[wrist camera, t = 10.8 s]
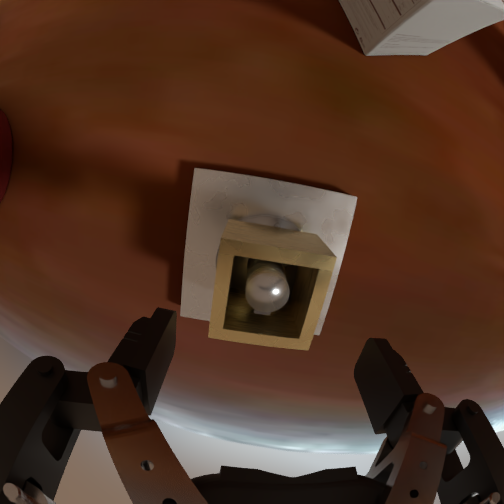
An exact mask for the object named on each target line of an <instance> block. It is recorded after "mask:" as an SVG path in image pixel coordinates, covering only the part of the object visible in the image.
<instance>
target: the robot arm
mask: <svg viewBox="0 0 504 504" xmlns="http://www.w3.org/2000/svg"><path fill="white" fill-rule="evenodd" d="M176 317H177V315H176V311H173V310H168V309H163V308H159V307H158V308H157V309H156V310H155V312H154V314H153V315H152V317H151V318H147V317H142V318H140V319H138V320H137V321H135V322H134V323H133V324H132V326H131V327H130V328H129V330H128V332H127V333H126V334H125V336H124V339H122V340H121V342H120V343H119V345H118V346H117V348H116V350H115V351H114V353H113V354H112V356H111V357H110V359H109V360H108V362H104V363H99V364H97V365H95V366H93V367H92V368H91V369H90V370H89V372H78V371H68V370H65V368H64V365H63V363H62V362H61V361H60V360H59V359H57V358H55V357H52V356H41V357H38V358H36V359H34V360H33V361H32V362H31V363H30V364H29V365H28V366H27V368H26V369H25V370H24V372H23V373H22V374H21V376H20V377H19V378H18V380H17V381H16V383H15V384H14V385H13V387H12V388H11V389H10V391H9V392H8V394H7V395H6V397H5V398H4V399H3V401H2V402H1V404H0V504H56V503H55V502H54V501H53V500H54V497H55V495H56V492H57V489H58V486H59V483H60V480H61V478H62V475H63V473H64V470H65V467H66V465H67V462H68V459H69V457H70V455H71V452H72V450H73V447H74V445H75V443H76V440H77V438H78V436H79V433H80V431H81V430H91V431H101V432H102V434H103V437H104V439H105V442H106V445H107V448H108V450H109V453H110V455H111V458H112V460H113V463H114V465H115V467H116V469H117V471H118V474H119V476H120V478H121V481H122V483H123V485H124V487H125V489H126V491H127V493H128V495H129V497H130V499H131V501H132V503H133V504H433V503H434V500H435V497H436V493H437V492H438V496H439V499H440V502H441V504H504V448H503V446H502V444H501V442H500V440H499V438H498V437H497V435H496V433H495V431H494V429H493V428H492V426H491V424H490V422H489V421H488V419H487V417H486V416H485V414H484V412H483V410H482V409H481V407H480V406H479V405H478V404H477V403H476V402H474V401H472V400H469V399H465V400H462V401H461V402H460V403H459V405H458V406H457V407H456V408H448V407H444V404H443V403H442V401H441V400H440V399H439V398H438V397H436V396H435V395H432V394H429V393H424V392H423V391H422V389H421V387H420V386H419V384H418V382H417V381H416V379H415V377H414V376H413V374H412V373H411V371H410V369H409V367H407V364H406V363H405V361H404V359H403V358H402V357H401V356H400V355H399V354H398V353H397V352H396V351H395V350H393V349H392V347H391V346H390V344H389V342H388V341H387V340H386V339H381V338H369V339H368V340H367V342H366V344H365V346H364V348H363V350H362V352H361V355H360V357H359V359H358V361H357V363H356V365H355V369H354V378H355V381H356V383H357V386H358V389H359V391H360V394H361V397H362V399H363V402H364V405H365V407H366V410H367V413H368V416H369V418H370V421H371V424H372V427H373V430H374V432H375V434H382V433H386V434H387V437H386V438H385V439H384V441H383V443H382V445H381V447H380V449H379V452H378V454H377V456H376V458H375V460H374V462H373V464H372V466H371V468H370V470H369V472H368V473H367V475H366V476H361V475H357V471H356V467H349V468H337V469H325V470H322V471H318V472H315V473H311V474H307V475H304V476H299V477H286V476H282V475H278V474H274V473H269V472H266V471H262V470H258V469H248V468H237V467H229V466H221V469H220V473H218V474H209V475H203V476H199V477H196V478H193V479H190V478H189V476H188V475H187V473H186V472H185V470H184V469H183V467H182V466H181V464H180V462H179V461H178V459H177V458H176V456H175V454H174V453H173V451H172V449H171V448H170V446H169V444H168V443H167V441H166V439H165V438H164V436H163V434H162V432H161V430H160V429H159V427H158V425H157V423H156V422H155V421H154V420H153V419H152V420H151V419H150V418H149V416H148V415H150V416H151V413H152V410H153V408H154V405H155V402H156V400H157V397H158V394H159V391H160V389H161V386H162V383H163V381H164V378H165V376H166V373H167V370H168V368H169V365H170V363H171V360H172V357H173V354H174V350H175V343H176ZM462 441H464V443H465V445H466V447H467V450H468V452H469V454H470V462H469V465H468V466H467V467H466V468H465V469H463V467H462V464H461V462H460V459H459V457H458V455H457V453H456V450H455V448H456V447H457V446H458V445H459V444H460V443H461V442H462Z"/></svg>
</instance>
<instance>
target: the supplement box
mask: <svg viewBox="0 0 504 504" xmlns="http://www.w3.org/2000/svg"><path fill="white" fill-rule="evenodd" d="M339 2H340V4H341V6H342V8H343V10H344V12H345V14H346V16H347V18H348V20H349V22H350V24H351V26H352V28H353V30H354V32H355V34H356V37H357V39H358V41H359V43H360V46H361V48H362V50H363V52H364V54H365V55H366V56H370V55H428V54H430V53H432V52H434V51H436V50H438V49H440V48H442V47H443V46H445V45H447V44H449V43H452V42H454V41H456V40H458V39H460V38H462V37H464V36H466V35H468V34H471V33H473V32H475V31H477V30H480V29H482V28H484V27H487V26H489V25H491V24H494V23H496V22H499V21H501V20H504V0H339Z"/></svg>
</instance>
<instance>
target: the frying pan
mask: <svg viewBox="0 0 504 504" xmlns="http://www.w3.org/2000/svg"><path fill="white" fill-rule="evenodd" d="M12 149H13V146H12V134H11V128H10V125H9V122H8V119H7V117H6V116H5V114H4V113H3V112H2V111H1V110H0V203H1V201H2V199H3V197H4V195H5V192H6V189H7V186H8V182H9V178H10V173H11V165H12Z"/></svg>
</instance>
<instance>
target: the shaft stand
mask: <svg viewBox="0 0 504 504" xmlns="http://www.w3.org/2000/svg"><path fill="white" fill-rule="evenodd" d="M356 201H357V197H355V196H352V195H349V194H345V193H340V192H336V191H332V190H327V189H322V188H318V187H313V186H308V185H303V184H298V183H293V182H288V181H282V180H277V179H271V178H265V177H259V176H253V175H247V174H241V173H234V172H227V171H220V170H213V169H205V168H195V169H194V176H193V183H192V191H191V199H190V207H189V216H188V225H187V234H186V245H185V256H184V268H183V281H182V296H181V314H180V316H184V317H189V318H195V319H200V320H206V321H210V317H211V309H212V300H213V292H214V284H215V277H216V269H217V262H218V254H219V247H220V240H221V236H222V234H223V232H224V229H225V227H226V225H227V222H228V220H229V219H232V220H238V221H244V222H250V223H256V224H262V225H268V226H274V227H280V228H286V229H291V230H297V231H302V232H308V233H313V234H317V235H318V236H319V237H320V238H321V239H322V241H323V242H324V243H325V244H326V245H327V246H328V248H329V249H330V250H331V251H332V252H333V253H334V255H335V256H336V257H337V259H336V262H335V266H334V270H333V273H332V277H331V280H330V284H329V287H328V291H327V294H326V297H325V301H324V304H323V307H322V310H321V313H320V317H319V320H318V323H317V326H316V329H315V332H314V335H320V332H321V329H322V326H323V323H324V320H325V317H326V314H327V310H328V307H329V304H330V301H331V298H332V294H333V291H334V288H335V284H336V281H337V277H338V274H339V270H340V266H341V263H342V259H343V255H344V252H345V248H346V244H347V240H348V236H349V232H350V227H351V223H352V219H353V215H354V210H355V206H356ZM297 270H298V265H291V264H285V263H279V262H273V261H266V260H260V259H254V258H248V257H242V256H235V259H234V265H233V272H232V278H231V284H230V291H229V292H234V293H240V294H245V295H246V299H247V301H248V303H249V305H250V306H251V307H253V308H254V313H256V314H263V315H270V314H271V312H274V311H276V310H278V309H280V308H282V307H283V306H284V305H285V304H286V302H287V301H290V298H291V294H292V290H293V286H294V282H295V278H296V274H297Z"/></svg>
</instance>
